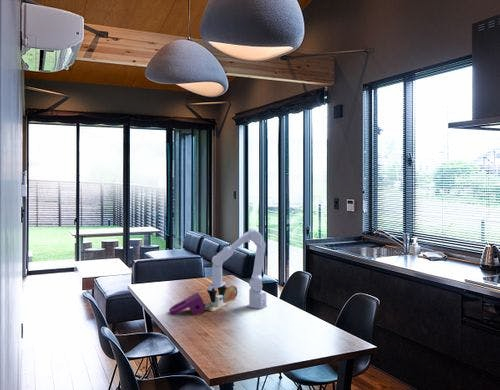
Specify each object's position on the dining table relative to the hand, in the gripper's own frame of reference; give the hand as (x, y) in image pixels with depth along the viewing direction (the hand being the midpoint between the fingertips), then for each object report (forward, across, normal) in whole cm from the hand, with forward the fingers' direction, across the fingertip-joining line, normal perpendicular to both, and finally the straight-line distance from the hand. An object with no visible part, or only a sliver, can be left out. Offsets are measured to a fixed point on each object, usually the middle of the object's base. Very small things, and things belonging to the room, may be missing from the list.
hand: (217, 300), depth 262 cm
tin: (+4, -17, -5) cm, 18 cm away
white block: (+2, 0, 0) cm, 3 cm away
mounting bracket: (+4, +17, -8) cm, 19 cm away
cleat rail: (+4, 0, 0) cm, 4 cm away
